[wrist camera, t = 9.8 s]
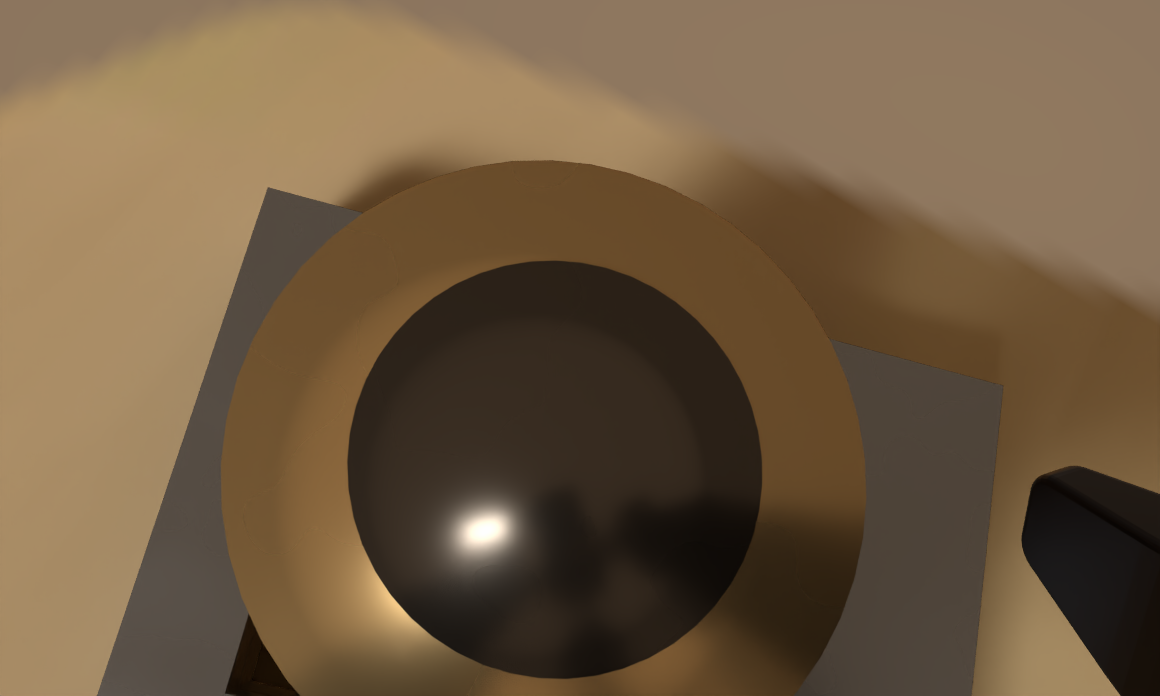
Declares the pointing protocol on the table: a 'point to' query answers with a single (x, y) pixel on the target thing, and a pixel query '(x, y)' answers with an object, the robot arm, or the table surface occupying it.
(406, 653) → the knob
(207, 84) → the table surface
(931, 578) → the frame
